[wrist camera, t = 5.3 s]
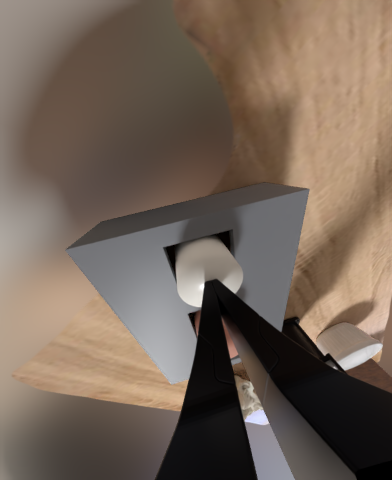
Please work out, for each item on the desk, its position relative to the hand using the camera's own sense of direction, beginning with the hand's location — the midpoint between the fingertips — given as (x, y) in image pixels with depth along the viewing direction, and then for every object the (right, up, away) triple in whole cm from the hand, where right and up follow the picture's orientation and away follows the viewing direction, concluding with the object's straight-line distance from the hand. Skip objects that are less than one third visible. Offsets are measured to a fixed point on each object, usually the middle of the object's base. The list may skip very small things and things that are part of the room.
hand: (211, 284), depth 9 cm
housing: (0, -3, +10) cm, 10 cm away
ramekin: (+33, -20, +25) cm, 46 cm away
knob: (-1, +2, +4) cm, 5 cm away
